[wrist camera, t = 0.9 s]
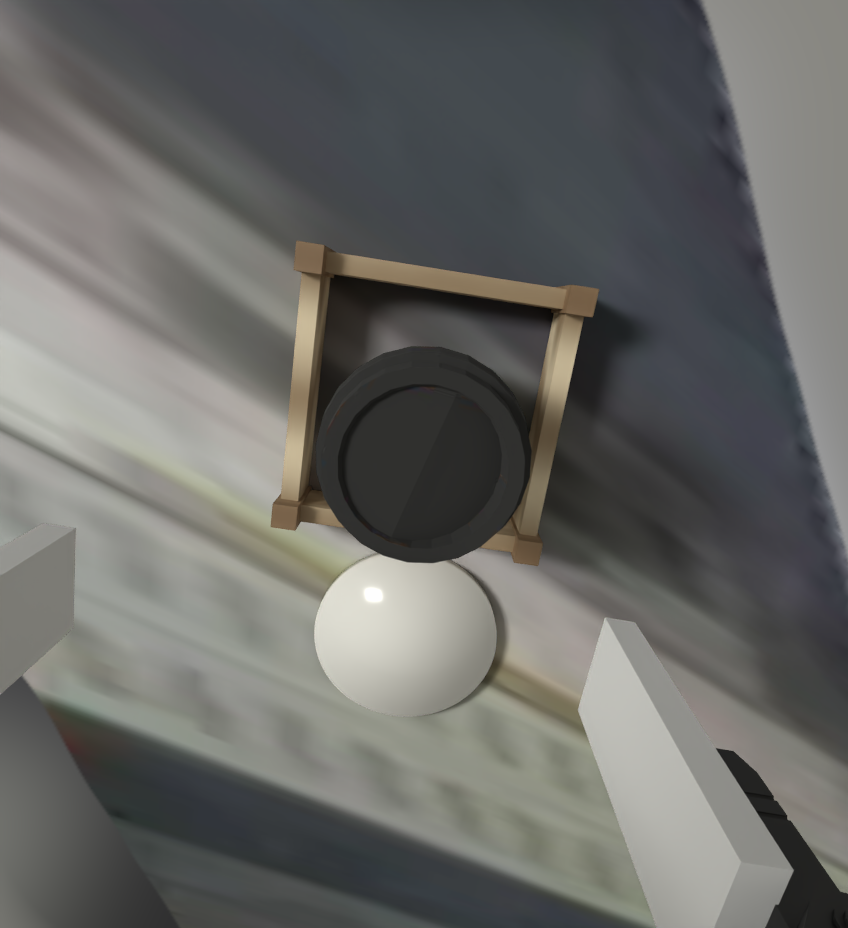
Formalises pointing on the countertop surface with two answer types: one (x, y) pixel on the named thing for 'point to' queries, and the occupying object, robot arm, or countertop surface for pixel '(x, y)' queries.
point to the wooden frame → (326, 263)
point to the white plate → (405, 635)
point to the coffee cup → (423, 454)
